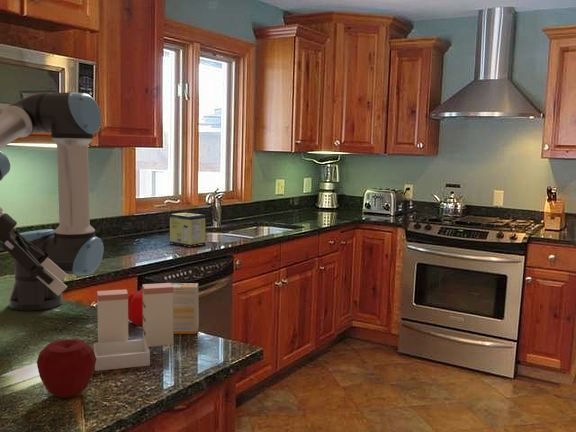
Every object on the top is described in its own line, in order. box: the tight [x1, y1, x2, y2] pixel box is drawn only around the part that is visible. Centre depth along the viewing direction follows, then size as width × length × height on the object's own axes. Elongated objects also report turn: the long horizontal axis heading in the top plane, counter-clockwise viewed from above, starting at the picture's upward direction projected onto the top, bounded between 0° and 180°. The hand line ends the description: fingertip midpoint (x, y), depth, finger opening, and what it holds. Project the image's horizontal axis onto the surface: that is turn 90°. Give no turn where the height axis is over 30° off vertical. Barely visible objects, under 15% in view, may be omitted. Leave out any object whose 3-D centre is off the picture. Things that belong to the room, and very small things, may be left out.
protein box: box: [169, 212, 206, 246], centre depth 292 cm, size 10×16×16 cm
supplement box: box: [170, 282, 200, 335], centre depth 156 cm, size 8×5×13 cm, turn 92°
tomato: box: [128, 286, 143, 327], centre depth 163 cm, size 11×13×10 cm
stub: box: [96, 288, 129, 343], centre depth 143 cm, size 4×7×14 cm, turn 110°
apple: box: [36, 338, 96, 399], centre depth 115 cm, size 11×11×12 cm
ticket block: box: [141, 282, 174, 348], centre depth 147 cm, size 5×7×15 cm, turn 110°
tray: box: [93, 338, 151, 372], centre depth 135 cm, size 10×12×3 cm
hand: (63, 284), depth 138 cm, fingers open, 13 cm apart
